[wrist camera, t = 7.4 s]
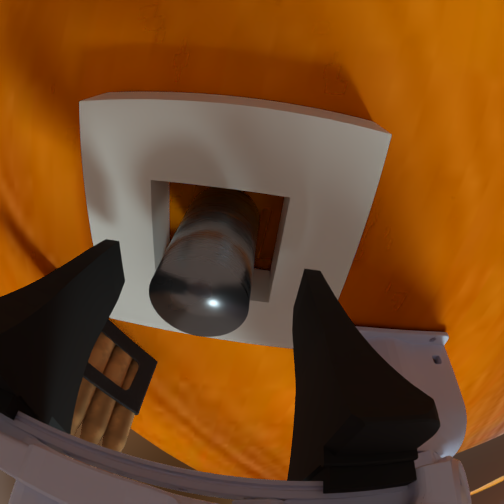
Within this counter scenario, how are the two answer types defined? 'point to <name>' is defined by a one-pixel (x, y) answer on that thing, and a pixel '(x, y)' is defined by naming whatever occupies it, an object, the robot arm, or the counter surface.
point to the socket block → (231, 177)
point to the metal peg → (209, 265)
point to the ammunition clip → (112, 389)
